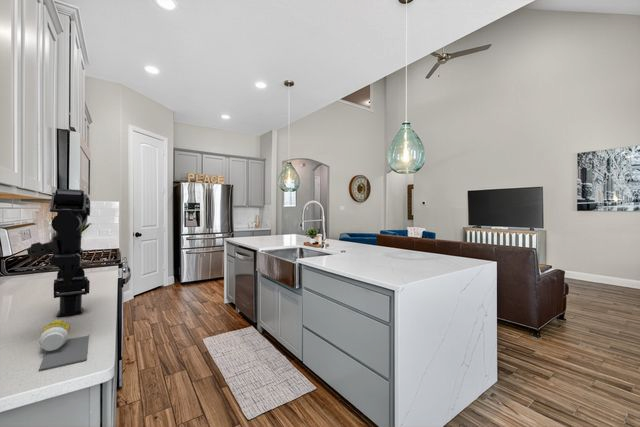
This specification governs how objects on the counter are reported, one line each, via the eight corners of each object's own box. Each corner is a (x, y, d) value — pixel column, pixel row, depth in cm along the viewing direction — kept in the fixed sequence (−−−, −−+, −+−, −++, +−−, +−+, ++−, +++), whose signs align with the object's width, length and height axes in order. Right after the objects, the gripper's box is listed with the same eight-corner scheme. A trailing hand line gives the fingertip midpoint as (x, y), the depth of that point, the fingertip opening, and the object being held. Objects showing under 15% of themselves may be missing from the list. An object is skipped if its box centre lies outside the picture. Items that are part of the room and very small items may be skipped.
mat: (49, 344, 74) (49, 342, 74) (88, 336, 79) (88, 335, 79) (38, 371, 62) (38, 369, 62) (86, 360, 67) (86, 358, 67)
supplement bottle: (41, 341, 74) (34, 355, 67) (44, 320, 75) (38, 332, 67) (68, 338, 78) (65, 351, 70) (71, 318, 78) (68, 329, 71)
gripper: (36, 230, 87) (34, 282, 86) (23, 234, 72) (21, 296, 72) (83, 230, 93) (82, 278, 93) (80, 233, 79) (79, 290, 78)
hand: (67, 285), depth 84 cm, fingers closed
